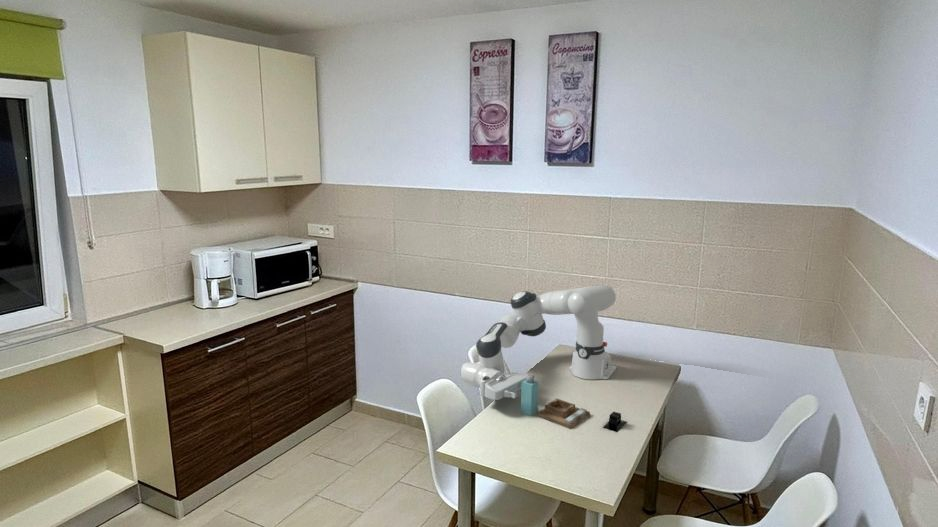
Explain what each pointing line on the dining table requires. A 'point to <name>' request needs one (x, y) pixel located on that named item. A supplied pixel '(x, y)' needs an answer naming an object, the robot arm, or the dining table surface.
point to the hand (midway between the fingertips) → (523, 391)
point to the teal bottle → (529, 395)
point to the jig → (563, 413)
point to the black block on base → (615, 422)
